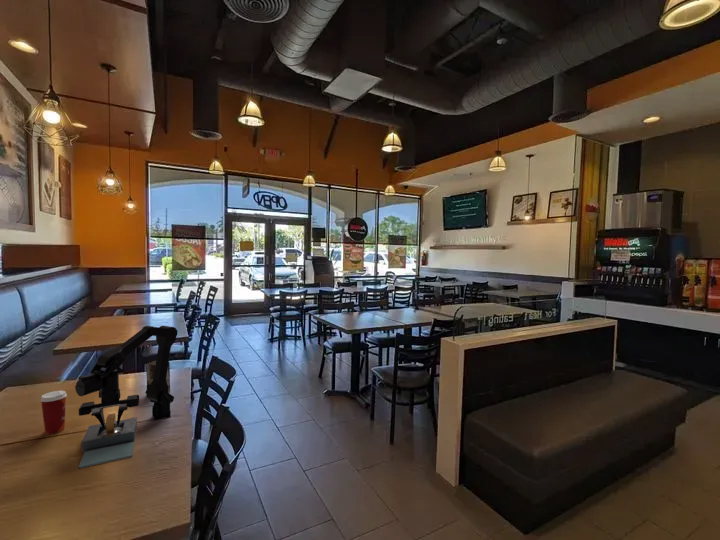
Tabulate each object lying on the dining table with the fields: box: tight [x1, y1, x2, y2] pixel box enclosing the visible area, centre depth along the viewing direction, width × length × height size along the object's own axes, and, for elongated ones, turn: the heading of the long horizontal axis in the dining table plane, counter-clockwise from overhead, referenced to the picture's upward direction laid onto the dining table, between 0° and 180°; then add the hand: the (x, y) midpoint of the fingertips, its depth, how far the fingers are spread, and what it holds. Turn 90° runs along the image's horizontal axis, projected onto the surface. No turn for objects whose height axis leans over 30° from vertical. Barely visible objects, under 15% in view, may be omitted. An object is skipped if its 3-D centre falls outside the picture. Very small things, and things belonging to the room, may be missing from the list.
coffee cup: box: [39, 390, 68, 435], centre depth 144 cm, size 8×8×15 cm
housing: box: [81, 417, 138, 454], centre depth 138 cm, size 16×13×4 cm
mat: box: [78, 441, 135, 469], centre depth 127 cm, size 15×10×1 cm, turn 118°
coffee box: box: [145, 360, 171, 394], centre depth 181 cm, size 9×6×16 cm
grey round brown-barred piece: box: [100, 412, 122, 435], centre depth 138 cm, size 7×7×9 cm
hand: (111, 426), depth 138 cm, fingers open, 4 cm apart
